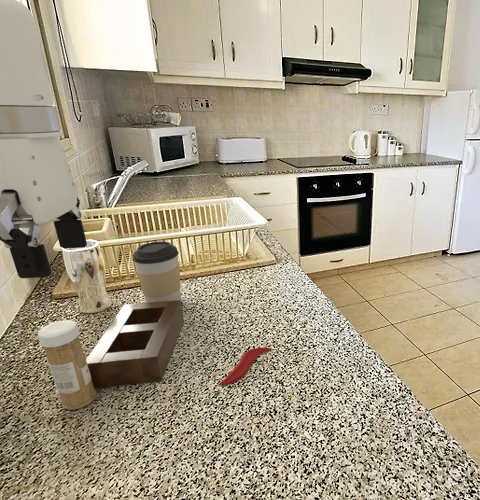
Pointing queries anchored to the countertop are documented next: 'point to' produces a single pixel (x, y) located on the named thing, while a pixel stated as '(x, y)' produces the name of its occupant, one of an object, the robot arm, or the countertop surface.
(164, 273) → the coffee cup
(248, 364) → the cayenne pepper
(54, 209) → the robot arm
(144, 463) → the countertop surface
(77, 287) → the beer glass
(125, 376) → the holder
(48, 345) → the sprinkles bottle
